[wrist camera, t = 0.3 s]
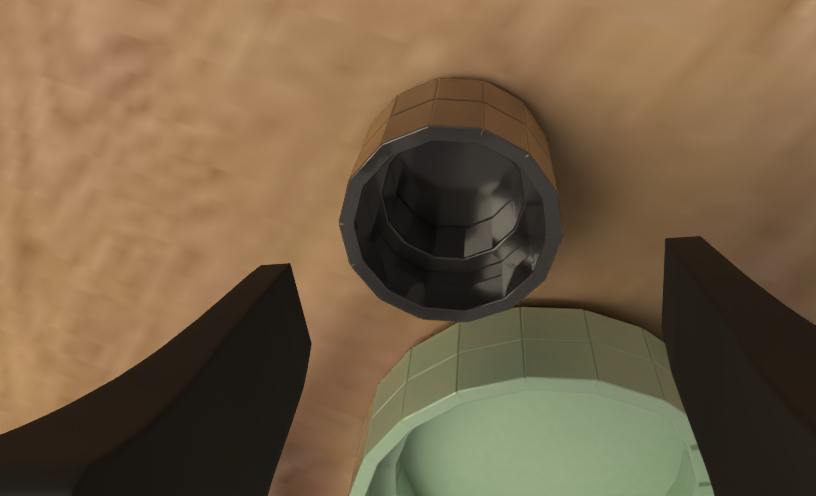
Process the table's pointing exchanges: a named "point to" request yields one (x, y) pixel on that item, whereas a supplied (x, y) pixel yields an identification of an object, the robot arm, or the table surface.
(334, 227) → the table surface
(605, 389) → the sage bowl
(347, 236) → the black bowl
